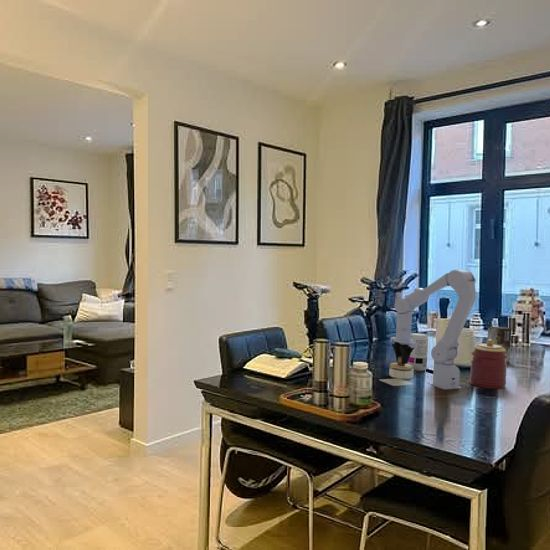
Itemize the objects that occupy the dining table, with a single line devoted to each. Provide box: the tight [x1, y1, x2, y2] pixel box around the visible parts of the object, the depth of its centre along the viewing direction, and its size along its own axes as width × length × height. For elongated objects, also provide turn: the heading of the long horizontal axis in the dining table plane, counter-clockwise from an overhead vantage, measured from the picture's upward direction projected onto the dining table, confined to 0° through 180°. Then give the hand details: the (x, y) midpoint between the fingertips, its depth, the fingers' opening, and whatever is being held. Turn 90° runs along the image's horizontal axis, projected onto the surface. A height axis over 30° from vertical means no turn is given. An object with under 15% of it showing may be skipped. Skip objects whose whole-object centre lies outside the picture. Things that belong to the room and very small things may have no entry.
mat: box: [379, 378, 416, 387], centre depth 199 cm, size 10×10×1 cm
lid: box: [389, 356, 413, 370], centre depth 209 cm, size 9×9×4 cm
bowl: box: [388, 366, 415, 380], centre depth 209 cm, size 9×9×4 cm
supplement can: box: [407, 332, 429, 372], centre depth 225 cm, size 8×8×15 cm
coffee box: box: [486, 325, 512, 363], centre depth 252 cm, size 9×6×16 cm
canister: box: [469, 339, 508, 390], centre depth 202 cm, size 13×13×18 cm
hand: (401, 362), depth 209 cm, fingers closed on lid, 3 cm apart
